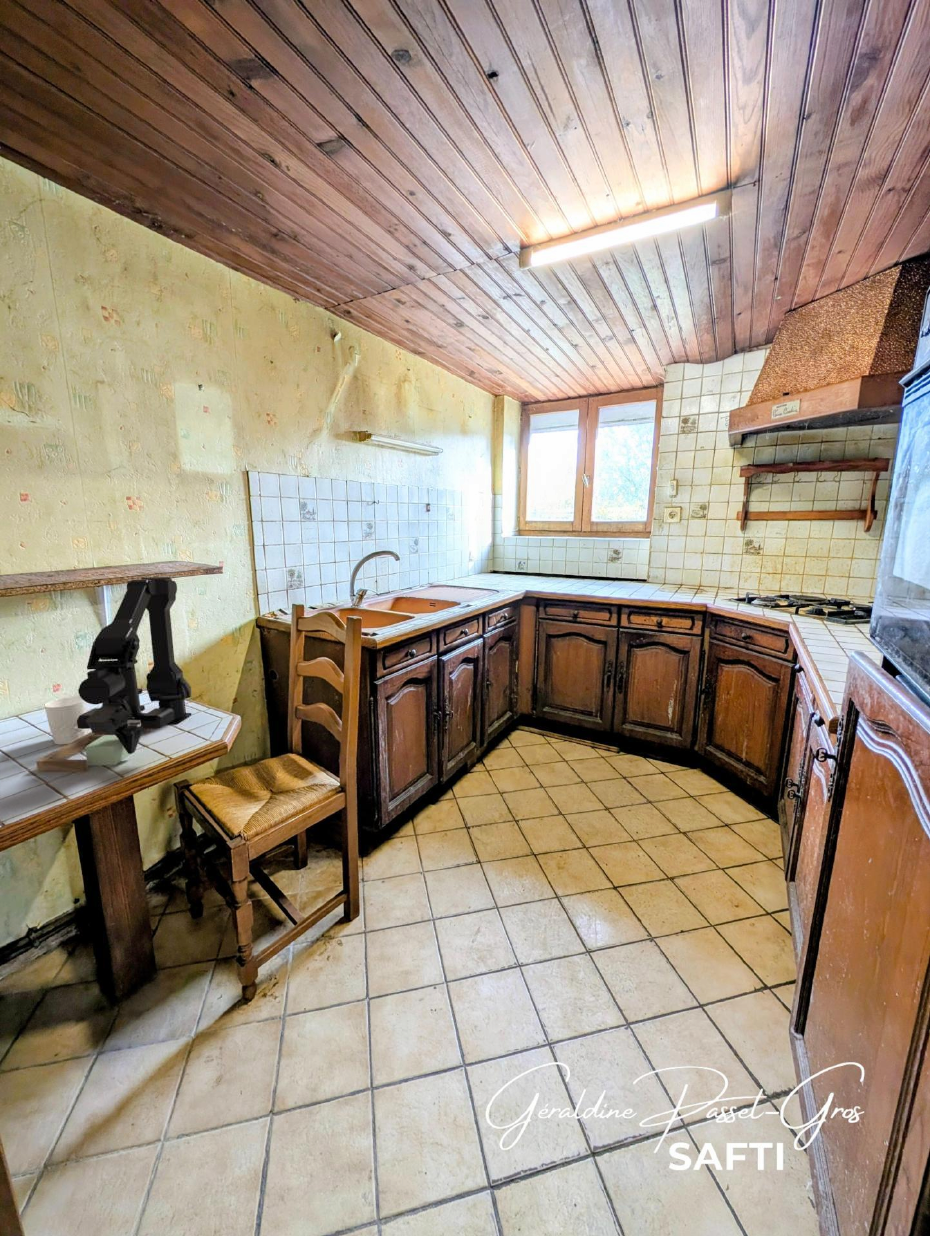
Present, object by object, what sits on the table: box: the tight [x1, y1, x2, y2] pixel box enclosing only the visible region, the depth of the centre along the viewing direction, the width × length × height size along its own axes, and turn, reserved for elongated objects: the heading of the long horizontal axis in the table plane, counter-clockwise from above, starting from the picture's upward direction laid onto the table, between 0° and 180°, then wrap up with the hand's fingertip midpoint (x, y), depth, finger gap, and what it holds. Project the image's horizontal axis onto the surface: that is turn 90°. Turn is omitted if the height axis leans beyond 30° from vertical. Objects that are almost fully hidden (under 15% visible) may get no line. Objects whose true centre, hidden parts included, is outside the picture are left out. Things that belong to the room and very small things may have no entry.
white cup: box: [44, 695, 89, 746], centre depth 119 cm, size 8×8×10 cm
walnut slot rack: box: [35, 728, 151, 773], centre depth 114 cm, size 21×10×2 cm, turn 179°
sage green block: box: [84, 735, 131, 767], centre depth 109 cm, size 6×6×4 cm
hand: (131, 753), depth 109 cm, fingers closed
